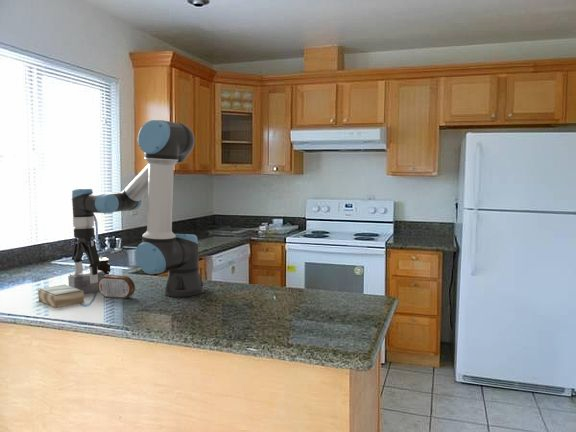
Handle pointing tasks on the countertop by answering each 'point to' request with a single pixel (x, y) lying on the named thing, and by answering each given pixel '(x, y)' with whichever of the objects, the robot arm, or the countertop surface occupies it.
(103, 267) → the pneumatic valve
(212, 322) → the countertop surface
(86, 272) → the housing
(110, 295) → the tin
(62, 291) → the stand
